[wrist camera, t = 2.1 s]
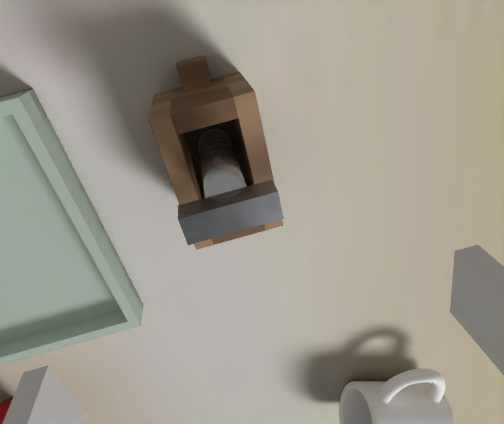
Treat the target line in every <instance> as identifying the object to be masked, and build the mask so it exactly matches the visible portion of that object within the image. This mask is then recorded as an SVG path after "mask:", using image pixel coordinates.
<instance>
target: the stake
mask: <svg viewBox="0 0 504 424" xmlns="http://www.w3.org/2000/svg"><path fill="white" fill-rule="evenodd" d="M199 153H200V161H201V170H202V178H203V186H204V194H205V198H203V199H199V200H196V201H192V202H189V203H185V204H181V205H178V220H179V223H180V225H181V228H182V231H183V233H184V236H185V238H186V241H187V244H188V245H191V244H194V243H198V242H201V241H205V240H209V239H212V238H216V237H219V236H223V235H226V234H230V233H234V232H237V231H241V230H244V229H248V228H252V227H255V226H259V225H262V224H266V223H270V222H273V221H277V220H280V219H284V218H283V214H282V209H281V204H280V199H279V194H278V191H277V189H276V187H275V185H274V183H273V181H272V180H269V181H265V182H261V183H258V184H254V185H250V186H246V183H245V181H244V178H243V175H242V172H241V169H240V166H239V163H238V160H237V158H236V155H235V152H234V149H233V146H232V143H231V140H230V138H229V136H228V135H227V134H226V133H225V132H224V131H222V130H219V129H211V130H208V131H206V132H205V133H203V134H202V136H201V137H200V139H199Z"/></svg>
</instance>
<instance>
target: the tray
mask: <svg viewBox="0 0 504 424" xmlns="http://www.w3.org/2000/svg"><path fill="white" fill-rule="evenodd" d="M142 311H143V304H142V302H141V300H140V298H139V296H138V294H137V292H136V290H135V288H134V286H133V284H132V282H131V280H130V278H129V276H128V274H127V272H126V270H125V268H124V266H123V264H122V262H121V260H120V258H119V256H118V254H117V253H116V251H115V249H114V247H113V245H112V243H111V241H110V239H109V237H108V235H107V233H106V231H105V229H104V227H103V225H102V223H101V221H100V219H99V217H98V215H97V213H96V211H95V209H94V207H93V205H92V203H91V202H90V200H89V198H88V196H87V194H86V192H85V190H84V188H83V186H82V184H81V182H80V180H79V178H78V176H77V174H76V172H75V170H74V168H73V166H72V164H71V162H70V160H69V158H68V156H67V154H66V152H65V150H64V149H63V147H62V145H61V143H60V141H59V139H58V137H57V135H56V133H55V131H54V129H53V127H52V125H51V123H50V121H49V119H48V117H47V115H46V113H45V111H44V109H43V107H42V105H41V103H40V101H39V99H38V98H37V96H36V94H35V92H34V90H33V89H29V90H25V91H22V92H18V93H14V94H10V95H6V96H2V97H0V365H3V364H7V363H10V362H14V361H17V360H21V359H24V358H28V357H31V356H35V355H38V354H42V353H45V352H49V351H52V350H56V349H59V348H63V347H67V346H70V345H74V344H77V343H81V342H84V341H88V340H91V339H95V338H98V337H102V336H105V335H109V334H112V333H116V332H119V331H123V330H126V329H130V328H133V327H137V326H141V319H142Z"/></svg>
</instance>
